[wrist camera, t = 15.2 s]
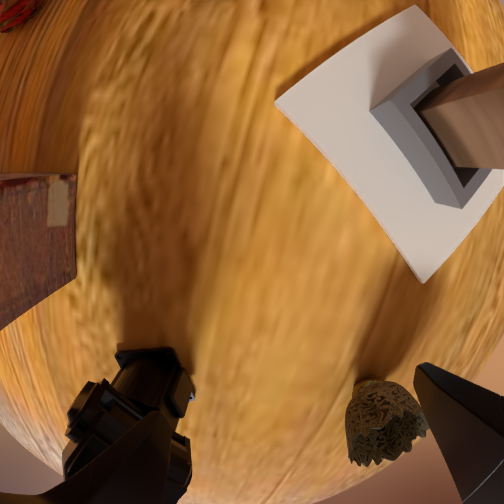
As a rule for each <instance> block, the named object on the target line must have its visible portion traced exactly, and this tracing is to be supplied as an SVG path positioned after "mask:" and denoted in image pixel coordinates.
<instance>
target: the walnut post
mask: <svg viewBox="0 0 504 504" xmlns="http://www.w3.org/2000/svg"><path fill="white" fill-rule="evenodd" d="M413 109H414V111H415V112H416V113H417V115H418V116H419V117H420V119H421V120H422V122H423V123H424V124H425V126H426V127H427V129H428V130H429V131H430V133H431V134H432V136H433V137H434V139H435V140H436V142H437V143H438V145H439V147H440V148H441V150H442V151H443V153H444V155H445V156H446V158H447V159H448V161H449V163H450V165H451V166H452V167H470V168H489V169H502V170H504V63H501V64H498V65H495V66H492V67H489V68H486V69H484V70H481V71H478V72H475V73H473V74H470V75H467V76H465V77H462V78H459V79H457V80H454V81H452V82H449V83H447V84H444V85H442V86H440V87H437V88H435V89H433V90H432V91H431V92H430V93H428V94H427V95H426V96H425V97H424V98H423V99H422V100H421V101H420V102H419V103H418V104H417V105H416V106H415V107H414V108H413Z"/></svg>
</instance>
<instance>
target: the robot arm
mask: <svg viewBox="0 0 504 504" xmlns="http://www.w3.org/2000/svg"><path fill="white" fill-rule="evenodd" d="M168 352H170V353H171V354H169V353H168ZM115 358H116V360H117V362H118V364H119V366H120V368H121V369H120V370H119V372H118V373H117V375H116V377H115V378H114V380H113V381H112V383H111V384H109V382H108V381H107V380H106V379H105V378H104V379H103V380H102V381H101V382H100V383H98V382H97V383H94V382H90V381H88V382H87V383H86V384H85V386H84V387H83V389H82V390H81V391H80V393H79V394H78V396H77V397H76V399H75V400H74V402H73V404H72V405H71V407H70V409H69V410H68V412H67V415H68V420H69V422H68V425H67V430H66V433H65V436H67V437H68V438H69V439H70V441H69V442H68V444H67V446H66V447H65V449H64V450H63V452H62V464H63V477H64V482H62V483H61V484H59V485H57V486H55V487H54V488H52V489H50V490H48V491H47V492H45V493H42V494H38V495H23V494H12V493H3V492H0V504H176V503H177V502H178V500H179V499H180V498H181V497H182V496H183V495H184V494H185V492H186V491H187V487H188V485H189V484H190V481H191V478H192V461H191V448H190V439H188V438H187V437H185V436H182V435H180V434H178V433H177V432H175V431H176V427H177V424H178V421H179V418H183V417H184V416H185V413H186V409H187V406H188V403H189V401H193V400H194V399H195V394H194V392H193V386H192V384H191V382H190V380H189V378H188V376H187V374H186V371H185V369H184V368H183V367H182V366H181V364H180V362H179V359H178V357H177V355H176V353H175V351H174V349H172V348H170V347H165V348H154V349H142V350H128V351H117V352H116V354H115ZM413 385H414V389H415V391H416V394H417V397H418V399H419V402H420V405H421V408H422V410H423V413H424V416H425V419H426V421H427V423H428V425H429V427H430V429H431V431H432V433H433V435H434V437H435V439H436V442H437V444H438V446H439V448H440V450H441V452H442V455H443V457H444V459H445V461H446V463H447V466H448V468H449V470H450V473H451V475H452V477H453V480H454V482H455V484H456V487H457V489H458V492H459V494H460V497H461V500H462V502H463V504H504V396H500V395H499V394H496V393H494V392H492V391H490V390H488V389H485V388H483V387H481V386H479V385H476V384H474V383H472V382H470V381H468V380H465V379H463V378H461V377H459V376H457V375H455V374H452V373H450V372H448V371H446V370H444V369H442V368H439V367H437V366H435V365H433V364H431V363H429V362H424V363H422V364H419V365H417V366H416V369H415V375H414V381H413ZM190 396H191V397H190Z"/></svg>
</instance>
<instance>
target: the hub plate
mask: <svg viewBox="0 0 504 504" xmlns="http://www.w3.org/2000/svg"><path fill="white" fill-rule="evenodd" d="M473 73H474V72H473V71H472V70H471V68H470V67H469V65H468V64H467V63H466V61H465V60H464V59H463V57H462V56H461V55H460V53H459V52H458V51H457V49H456V48H455V47H454V46H453V44H452V43H451V42H450V41H449V40H448V38H447V37H446V36H445V35H444V34H443V33H442V32H441V30H440V29H439V28H438V27H437V26H436V25H435V24H434V23H433V22H432V21H431V20H430V18H429V17H428V16H427V15H426V14H425V13H424V12H423V11H422V10H421V9H420V8H419V7H418V6H417V5H413V6H411V7H409V8H407V9H405V10H404V11H402V12H400V13H398V14H396V15H395V16H393V17H391V18H390V19H388V20H386V21H385V22H383V23H381V24H380V25H378V26H376V27H375V28H373V29H372V30H370V31H368V32H367V33H365V34H364V35H362V36H361V37H359V38H358V39H356V40H355V41H353V42H352V43H350V44H349V45H347V46H346V47H344V48H343V49H342V50H340V51H339V52H337V53H336V54H334V55H333V56H332V57H330V58H329V59H328V60H326V61H325V62H323V63H322V64H321V65H319V66H318V67H317V68H315V69H314V70H313V71H312V72H310V73H309V74H308V75H306V76H305V77H304V78H303V79H301V80H300V81H299V82H297V83H296V84H295V85H294V86H293V87H291V88H290V89H289V90H288V91H286V92H285V93H284V94H283V95H282V96H280V97H279V98H278V99H277V100H276V101H275V103H274V105H275V106H276V107H277V108H278V109H279V110H280V111H281V112H282V113H283V114H284V115H285V116H286V117H287V118H288V119H289V120H290V121H291V122H292V123H293V124H294V125H295V126H296V127H297V128H298V129H299V130H300V131H301V132H302V133H303V134H304V135H305V136H306V137H307V138H308V139H309V140H310V141H311V142H312V144H313V145H314V146H315V147H316V148H317V149H318V150H319V151H320V152H321V153H322V154H323V155H324V157H325V158H326V159H327V160H328V161H329V162H330V163H331V164H332V166H333V167H334V168H335V169H336V170H337V171H338V173H339V174H340V175H341V176H342V177H343V178H344V180H345V181H346V182H347V183H348V184H349V186H350V187H351V188H352V189H353V190H354V192H355V193H356V194H357V195H358V197H359V198H360V199H361V200H362V202H363V203H364V204H365V206H366V207H367V208H368V209H369V211H370V212H371V213H372V215H373V216H374V217H375V219H376V220H377V221H378V223H379V224H380V225H381V227H382V228H383V229H384V231H385V232H386V234H387V235H388V236H389V238H390V239H391V241H392V242H393V243H394V245H395V246H396V248H397V249H398V251H399V252H400V254H401V255H402V257H403V258H404V260H405V261H406V263H407V264H408V266H409V267H410V269H411V270H412V272H413V273H414V275H415V277H416V278H417V280H418V281H420V282H421V283H422V284H424V283H425V282H426V281H427V280H428V279H429V278H430V277H431V276H432V275H433V273H434V272H435V271H436V270H437V269H438V268H439V267H440V266H441V265H442V264H443V263H444V262H445V260H446V259H447V258H448V257H449V256H450V255H451V254H452V253H453V251H454V250H455V249H456V248H457V247H458V246H459V244H460V243H461V242H462V241H463V240H464V239H465V237H466V236H467V235H468V234H469V232H470V231H471V230H472V229H473V227H474V226H475V225H476V224H477V222H478V221H479V220H480V218H481V217H482V216H483V214H484V213H485V212H486V210H487V209H488V208H489V206H490V205H491V203H492V202H493V201H494V199H495V198H496V196H497V195H498V193H499V192H500V190H501V189H502V187H503V186H504V170H502V169H489V168H470V167H452V166H451V165H450V163H449V161H448V159H447V158H446V156H445V155H444V153H443V151H442V150H441V148H440V147H439V145H438V143H437V142H436V140H435V139H434V137H433V136H432V134H431V133H430V131H429V130H428V129H427V127H426V126H425V124H424V123H423V122H422V120H421V119H420V117H419V116H418V115H417V113H416V112H415V111H414V109H413V108H414V107H415V106H416V105H417V104H418V103H419V102H420V101H421V100H422V99H423V98H424V97H425V96H426V95H427V94H428V93H430V92H431V91H432V90H433V89H435V88H437V87H440V86H442V85H444V84H447V83H449V82H452V81H454V80H457V79H459V78H462V77H465V76H467V75H470V74H473Z"/></svg>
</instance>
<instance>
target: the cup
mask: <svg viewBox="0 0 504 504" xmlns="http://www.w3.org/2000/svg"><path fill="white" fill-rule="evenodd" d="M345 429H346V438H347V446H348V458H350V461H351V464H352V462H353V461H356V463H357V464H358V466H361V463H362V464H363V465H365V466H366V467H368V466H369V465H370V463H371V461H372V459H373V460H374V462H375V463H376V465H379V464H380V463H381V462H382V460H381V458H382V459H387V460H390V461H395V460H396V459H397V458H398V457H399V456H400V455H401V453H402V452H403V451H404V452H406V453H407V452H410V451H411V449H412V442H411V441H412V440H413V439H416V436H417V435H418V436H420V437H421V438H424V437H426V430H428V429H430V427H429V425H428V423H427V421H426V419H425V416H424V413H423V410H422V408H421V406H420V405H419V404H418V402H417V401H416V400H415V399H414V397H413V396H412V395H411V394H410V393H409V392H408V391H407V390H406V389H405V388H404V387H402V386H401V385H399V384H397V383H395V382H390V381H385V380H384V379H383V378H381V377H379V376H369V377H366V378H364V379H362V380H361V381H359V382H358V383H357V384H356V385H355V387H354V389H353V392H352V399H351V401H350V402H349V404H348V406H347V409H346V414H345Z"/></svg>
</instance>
